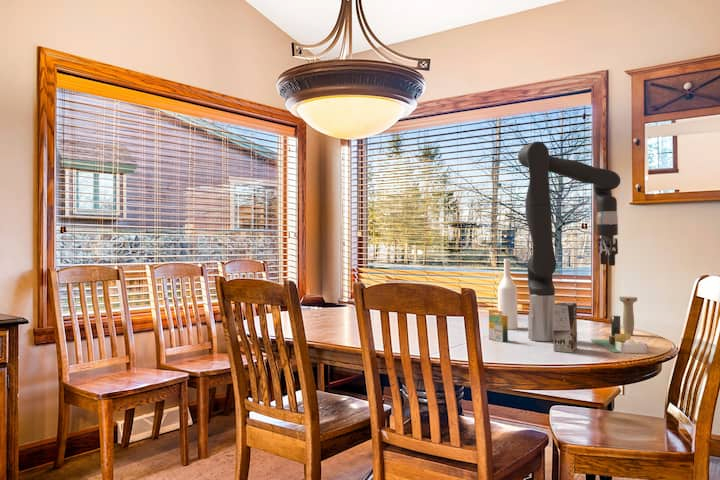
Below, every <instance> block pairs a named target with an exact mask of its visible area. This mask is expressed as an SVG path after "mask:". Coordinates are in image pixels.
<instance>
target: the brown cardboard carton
mask: <svg viewBox="0 0 720 480" xmlns="http://www.w3.org/2000/svg"><path fill="white" fill-rule="evenodd" d="M608 340H609V344H611V345H615V337H613V336H611V335H610V336H608Z"/></svg>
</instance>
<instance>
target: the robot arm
mask: <svg viewBox="0 0 720 480" xmlns="http://www.w3.org/2000/svg"><path fill="white" fill-rule="evenodd" d="M548 148H549V147H548V146H547V145H546V144H545V143H544V142H543V141H538V140H537V141H533V142H531V143H529V144H526V145H524V146H523V147H521V148H520V150H519V151H518V153H517V159H518V162H519V163H520V164H521V165H522V166H523V167H525V168H528V174H529V183H528V187H527V191H526V195H525V216H526V217H525V218H526V223H527V227H528V230H529V234H530V237H531V241H532V255H530V257H529V258H528V261H527V285H528V289H529V290H528V291H529V313H528V317H527V318H528V326H527V328H528V330H527V331H528V339H530V340H531V341H534V342H535V341H537V342H552V341H553V342H554V330H553V305H554V304H556V295H555V292H556V290H555V286H554V282H553V281H554V280H553V274H554V273H555V272H556V270H557V260H556V255H555V249H554V243H553V221H552V219H553V217H552V202H551V192H550V190H551V189H550V180H549V179H550V178H549V173H553V174H556V175H560V176H562V177H565V178H569V179H572V180H574V181H577V182H580V183H583V184H587V185H589V184H591V185H593V190H594V196H595V199H596V210H597V212H596V235H597V237H598V238H597V254H599V260H600V261H599V264H600V265H607V259H608V266H611V267H612V266H614V267H615V266H616V255H618V254H619V248H618V244H619V243H618V240H619V239H618V238H615V237H614V236H618V235H619V222H618V221H619V220H618V219H619V217H618V201H617V198H616V197H615V196H613V195H612V194H613V193H612V190H615V189H617V188H618V187H619V186H620V185H621V177H620V175H619V174H618V173H617V172H616V171H613V170H610V169H605V168H602V167H596V166H592V165H590V164H587V163H584V162H581V161H578V160H574V159H568V158H562V157H561V158H560V157H557V156H553V155H550V152H549V149H548ZM599 236H600V237H601V238H599ZM607 254H608V256H607ZM607 257H608V258H607Z"/></svg>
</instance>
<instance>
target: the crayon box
mask: <svg viewBox="0 0 720 480" xmlns="http://www.w3.org/2000/svg"><path fill="white" fill-rule="evenodd" d="M498 313H499V314H498ZM508 331H509V330H508V316H505V315H502V311H498V310H495V309H488V340H491V341H496V342H500V343H506V342H509V340H508V339H509V333H508Z"/></svg>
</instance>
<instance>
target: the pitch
mask: <svg viewBox="0 0 720 480" xmlns="http://www.w3.org/2000/svg"><path fill="white" fill-rule="evenodd" d="M591 341H592V343H595V344H597V345H599V346H600V347H602V348H604V349H606V350H608V351H610V352H611V353H613V354H622V353H621V352H620V351H618V350H617V349H616V345H611V344H609V339H591ZM635 354H638V353H637V352H636V353H635ZM642 354H645V353H644V352H643V353H642Z"/></svg>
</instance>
